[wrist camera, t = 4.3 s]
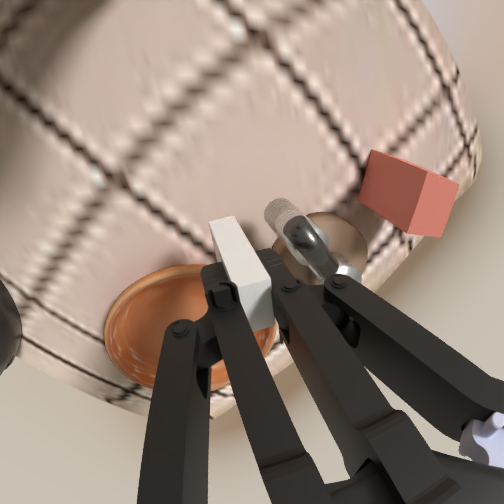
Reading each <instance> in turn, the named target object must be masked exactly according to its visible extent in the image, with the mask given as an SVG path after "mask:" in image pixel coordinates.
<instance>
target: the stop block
mask: <svg viewBox="0 0 504 504" xmlns="http://www.w3.org/2000/svg"><path fill="white" fill-rule="evenodd" d="M458 188H459V184H457V183H455V182H453V181H451V180H449V179H447V178H445V177H443V176H440V175H438V174H436V173H434V172H431V171H429V170H427V169H425V168H422V167H420V166H418V165H415V164H413V163H410V162H408V161H405V160H402V159H399V158H397V157H394V156H391V155H388V154H385V153H382V152H378V151H375V150H371V154H370V157H369V161H368V165H367V168H366V172H365V175H364V179H363V182H362V186H361V189H360V193H359V196H358V199H357V201H359V202H361V203H362V204H364V205H365V206H367V207H368V208H370V209H371V210H373V211H374V212H376V213H378V214H379V215H381V216H382V217H384V218H385V219H387V220H388V221H389V222H391V223H392V224H394V225H395V226H397V227H398V228H400V229H401V230H403V231H404V232H405V233H407V234H416V235H424V236H433V237H441V235H442V233H443V230H444V228H445V225H446V222H447V219H448V217H449V214H450V211H451V209H452V206H453V203H454V200H455V197H456V194H457V191H458Z"/></svg>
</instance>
